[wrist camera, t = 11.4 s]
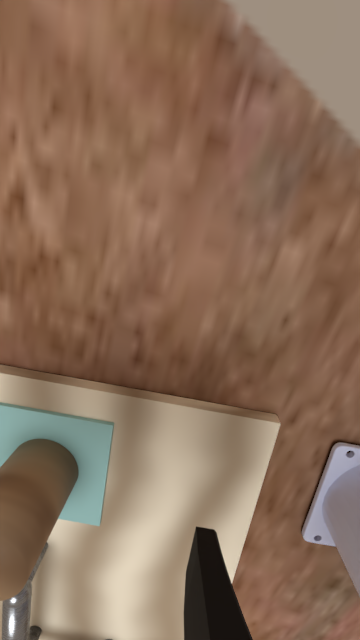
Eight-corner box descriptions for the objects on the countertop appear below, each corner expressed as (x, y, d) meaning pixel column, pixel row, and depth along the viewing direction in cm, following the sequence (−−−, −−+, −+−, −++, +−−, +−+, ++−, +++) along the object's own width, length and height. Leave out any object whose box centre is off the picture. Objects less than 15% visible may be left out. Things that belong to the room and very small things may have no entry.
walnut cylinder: (76, 500, 20) (26, 608, 14) (11, 489, 20) (-66, 592, 14) (81, 445, 19) (28, 538, 13) (11, 433, 19) (-72, 520, 13)
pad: (114, 422, 18) (113, 425, 18) (100, 522, 21) (99, 526, 20) (-13, 399, 18) (-16, 402, 18) (-14, 501, 21) (-17, 505, 20)
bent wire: (136, 553, 21) (124, 618, 17) (118, 651, 24) (104, 725, 20) (31, 534, 21) (-4, 595, 17) (25, 634, 24) (-6, 706, 20)
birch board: (276, 414, 19) (280, 423, 18) (198, 675, 26) (198, 691, 25) (-33, 358, 19) (-45, 364, 18) (-30, 634, 26) (-39, 650, 25)
